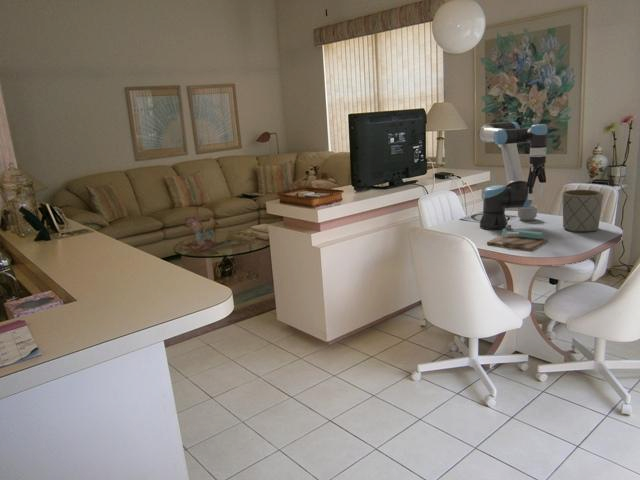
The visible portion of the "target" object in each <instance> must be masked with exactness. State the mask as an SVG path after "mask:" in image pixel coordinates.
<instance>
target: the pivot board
mask: <svg viewBox="0 0 640 480" xmlns="http://www.w3.org/2000/svg"><path fill="white" fill-rule="evenodd" d="M511 228H512V224H508V225H506V229H508V230H510V229H511ZM519 236H520V234H519V232H502V231H501V234H500V235H499V236H496V237H494V238H493V239H490V240H489V241H487V242H486V245H488V246H494V247H500V248H507V249H513V250H520V251H525V252H526V251H528V252H532V251H534V250H535V249H536V248H538V247H540V246H542V245H544V244H546V243H547V242H548V241H549V238H548V237H543V238H541V239H534V238H526V237H519Z"/></svg>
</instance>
